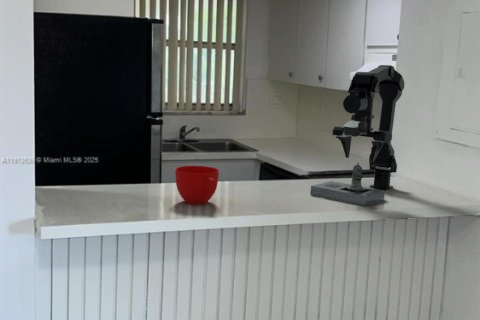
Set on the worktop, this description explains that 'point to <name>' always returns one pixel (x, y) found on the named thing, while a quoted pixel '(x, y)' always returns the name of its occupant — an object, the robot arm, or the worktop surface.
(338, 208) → the worktop surface
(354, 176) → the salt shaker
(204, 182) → the ceramic cup
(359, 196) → the grey flat block
